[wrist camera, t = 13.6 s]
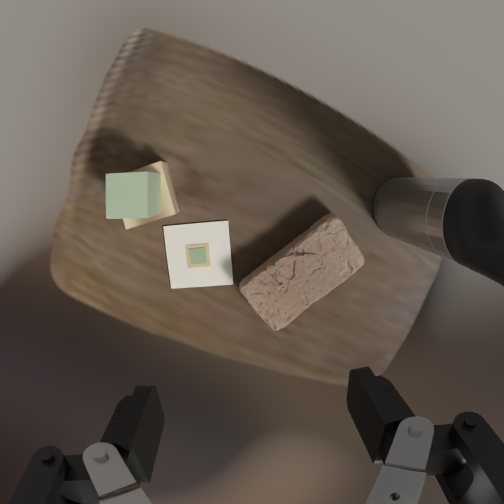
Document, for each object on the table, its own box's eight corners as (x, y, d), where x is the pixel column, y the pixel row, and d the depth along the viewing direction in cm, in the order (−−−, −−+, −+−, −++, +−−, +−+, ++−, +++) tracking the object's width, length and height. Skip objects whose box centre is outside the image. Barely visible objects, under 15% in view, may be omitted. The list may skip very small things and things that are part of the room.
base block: (167, 163, 40) (160, 160, 36) (180, 211, 42) (175, 214, 38) (122, 178, 40) (111, 178, 36) (135, 225, 42) (126, 229, 38)
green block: (160, 173, 37) (147, 171, 31) (160, 213, 38) (147, 218, 32) (124, 175, 36) (105, 173, 31) (124, 213, 37) (106, 218, 32)
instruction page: (228, 220, 42) (227, 220, 42) (233, 283, 44) (233, 284, 44) (163, 226, 42) (162, 226, 41) (171, 288, 44) (171, 289, 43)
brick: (328, 209, 43) (339, 212, 38) (359, 254, 44) (371, 262, 40) (236, 280, 44) (236, 291, 40) (271, 321, 46) (274, 335, 41)
